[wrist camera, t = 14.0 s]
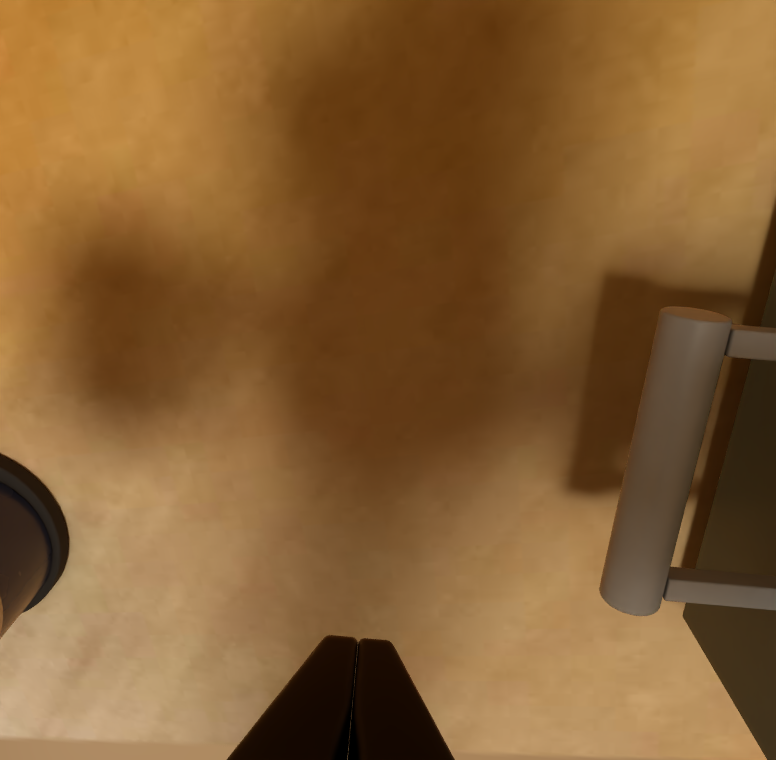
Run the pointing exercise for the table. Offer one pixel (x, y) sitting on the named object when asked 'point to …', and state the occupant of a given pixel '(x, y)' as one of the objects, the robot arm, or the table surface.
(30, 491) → the coaster
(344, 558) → the table surface
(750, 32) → the table surface
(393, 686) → the robot arm
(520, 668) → the table surface
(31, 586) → the can
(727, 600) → the drawer
